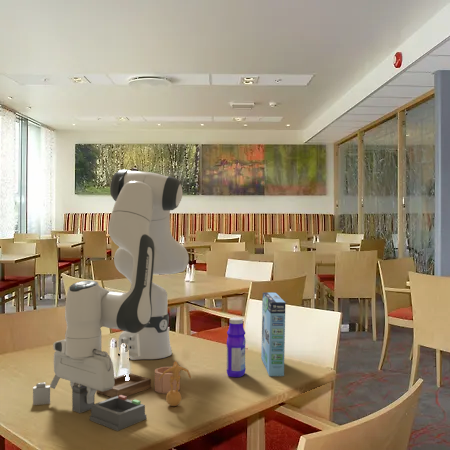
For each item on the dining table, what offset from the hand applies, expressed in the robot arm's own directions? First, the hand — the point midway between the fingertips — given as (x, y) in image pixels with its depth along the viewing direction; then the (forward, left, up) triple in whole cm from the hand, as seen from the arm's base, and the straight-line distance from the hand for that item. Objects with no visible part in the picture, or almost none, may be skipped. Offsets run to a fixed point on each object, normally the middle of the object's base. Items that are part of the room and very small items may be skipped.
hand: (83, 400), depth 133 cm
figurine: (+17, +15, -2) cm, 23 cm away
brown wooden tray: (-3, +16, -2) cm, 16 cm away
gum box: (+18, +61, -2) cm, 63 cm away
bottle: (+13, +47, -2) cm, 49 cm away
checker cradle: (+12, +1, -2) cm, 12 cm away
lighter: (-11, -3, -2) cm, 12 cm away
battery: (0, 0, -2) cm, 2 cm away
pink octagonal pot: (+6, +24, -2) cm, 25 cm away
